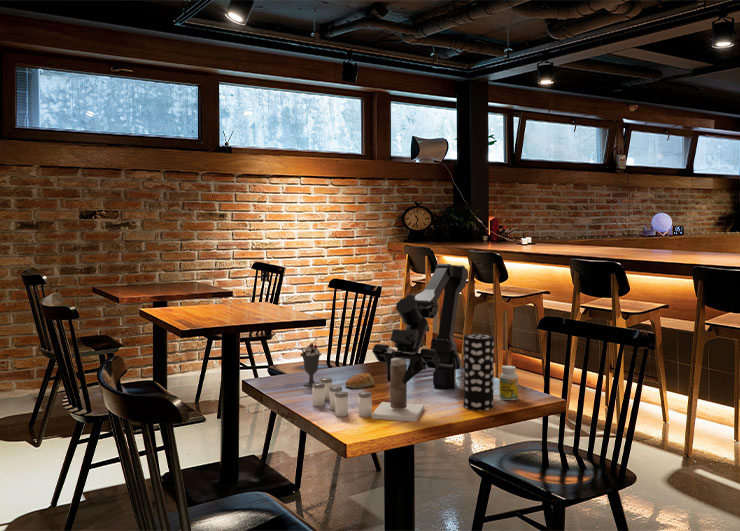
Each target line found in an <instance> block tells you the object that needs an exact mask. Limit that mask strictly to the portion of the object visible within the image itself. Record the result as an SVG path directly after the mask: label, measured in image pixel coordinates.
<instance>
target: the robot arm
mask: <svg viewBox="0 0 740 531" xmlns="http://www.w3.org/2000/svg"><path fill="white" fill-rule="evenodd" d="M468 278H469V269H468V268H466V267H465V265H459V264H458V265H457V264H451V263H438V264H436V265H435V268H434V273H433V274H432V276H431V277H430V279H429V281H428V282H427V284H426V286H425V288H424V289H423V291H422V292H419V293H417V294H416V295H414V294H406V297H403V298H401V299H400V300H399V301H398V302H397V303H396V305H395V309H396V311H397V313H398V315H399V316H400V318H401V320H402V323H403V324H405V325H406V326H405V329H396V328H395V329H392V330H391V334H390V342H393V343H394V344H393V345H394V347H395V348H396V350H395V349H393V348H390V346H389V344H383V343H376V344H374V346H373V348H372V350H371V352H372V353H373V355H374V357H375V358H376V360H377V361H378V362H379V363H383V364H384V363H385V364H386V365H387V366H386V367H387V368H386V370H387V371H386V374H387V375H386V376H387V377H386V378H387V379H386V380H387V382H390V364H391V359H392V358H405V359H406V360H409V364H408V366H407V371H406V374H405V376H404V380H403V383H404V384H406V383H408V382H410V380H411V379H413V378H414V377H415V376H416V375H417V374H419V373H420V372H422V371H425V370H426V369H427V368H429V369H434V371H433V372H432V377H433V378H432V385H433V388H434V389H443V390H444V389H445V390H446V389H447V390H455V389H456V387H457V381H456V380H457V378H456V376H457V370H461V366H462V360H461V357H460V355H459V353H458V346H457V343H456V341H455V339H454V334H455V326H456V321H457V320H456V319H457V313H458V305H459V304H458V303H459V297H460V293H461V292H462V291H463V289H464V288H466V284H467V281H468ZM443 291H444V293H443ZM442 294H443V300H442V305H441V306H442V307H441V311H440V312H441V314H440V320H439V326H438V334H437V335H436V337H435V338H431V340H430V348H424V347H423V346H424V343H423V340H424V337H425V335H426V332H429V331H430V327H429V322H428V320H427V319H434V318H435V317H436V315H437V314H438V311H439V308H440V306H439V302H438V301H439V298H440V297H441V295H442ZM420 348H421V349H420ZM419 351H420V352H419ZM426 366H427V367H426Z"/></svg>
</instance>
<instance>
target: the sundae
mask: <svg viewBox="0 0 740 531" xmlns="http://www.w3.org/2000/svg"><path fill="white" fill-rule="evenodd" d="M317 340H318V338H317V337H316V338H315V339H314V342H311V343H310V344H309V345H307V346H306V347H305V348H304V349H303V348H301V351H302V352H301V353H300V357H302V359H303V366H304V371H305V372H306V374H308V376H309V378H308V380H309V381H307V382H306V383H304V384H303V386H304V387H306V386H309V387H308V388H312V384H313V383H316V382H315V381H314V380H315V379H314V375H315V374H316V372H318V368H319V362H320V357H321V356H322V353H321V352H320V350H319V349H318V345H317Z"/></svg>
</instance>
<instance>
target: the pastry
mask: <svg viewBox="0 0 740 531" xmlns="http://www.w3.org/2000/svg"><path fill="white" fill-rule="evenodd" d="M374 384H375V380H374V378H373V377H372V374H371V373H369V372H364V373H363V372H362V373H358V374H355V375H353V376H352V377H350V378H348V379H347V380H346V382H345V387H348V388H351V389H362V388H365V387H371V386H373V385H374ZM361 387H362V388H361Z"/></svg>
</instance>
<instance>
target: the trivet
mask: <svg viewBox="0 0 740 531" xmlns="http://www.w3.org/2000/svg"><path fill="white" fill-rule="evenodd" d="M424 409H425V405H424V404H415V403H407V407H406V408H403V409H395V408H391V406H390V402H387V401H381V403H379V405H378V406H377V407H376V408H375V409H374V411H373V412H372V416H371V419H373V420H374V419H376V420H387V421H399V422H400V421H403V422H417V421H418V420H419V418H420V416H421V414H422V413H423V412H424Z"/></svg>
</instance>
